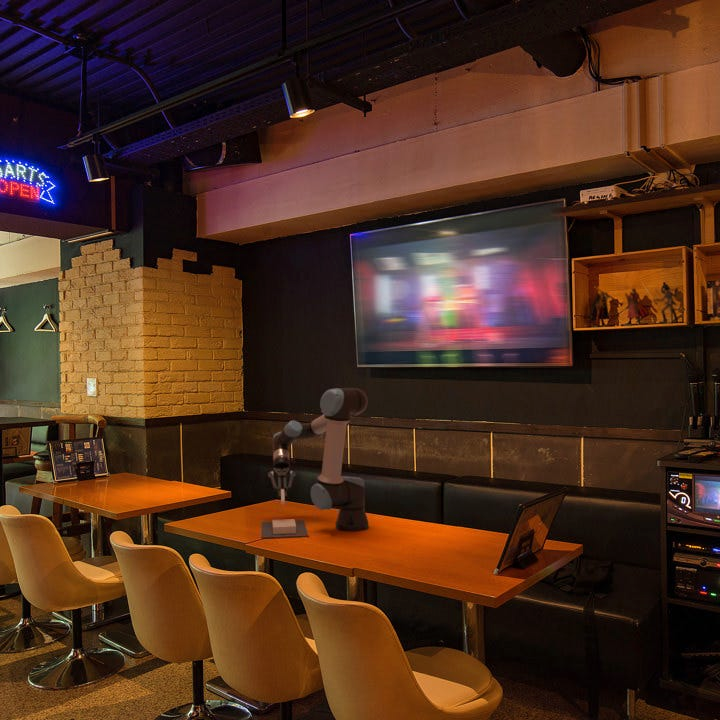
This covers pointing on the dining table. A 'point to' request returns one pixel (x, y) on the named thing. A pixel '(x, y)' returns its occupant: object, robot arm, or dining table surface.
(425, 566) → the dining table surface
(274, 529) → the tile
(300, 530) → the mat
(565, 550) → the dining table surface
